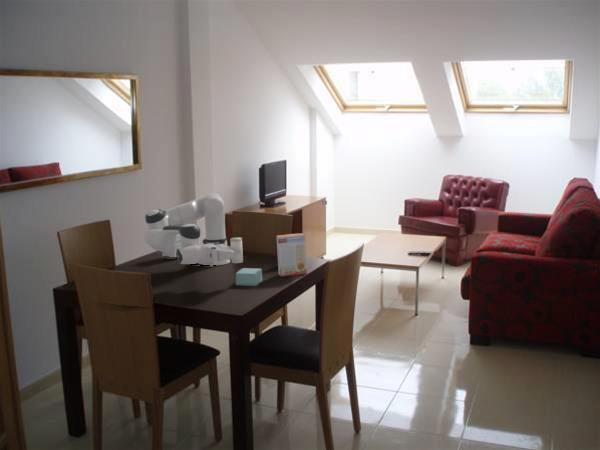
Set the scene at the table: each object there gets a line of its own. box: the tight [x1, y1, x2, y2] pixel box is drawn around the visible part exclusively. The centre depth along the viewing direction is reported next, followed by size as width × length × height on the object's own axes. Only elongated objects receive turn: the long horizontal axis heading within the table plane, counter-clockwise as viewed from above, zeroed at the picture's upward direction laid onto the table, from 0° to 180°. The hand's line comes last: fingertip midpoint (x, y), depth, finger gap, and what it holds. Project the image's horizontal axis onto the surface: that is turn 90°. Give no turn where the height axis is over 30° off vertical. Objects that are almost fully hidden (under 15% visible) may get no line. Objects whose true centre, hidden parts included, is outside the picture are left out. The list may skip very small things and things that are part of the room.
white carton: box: [161, 233, 181, 257], centre depth 390 cm, size 10×9×17 cm
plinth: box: [235, 267, 264, 287], centre depth 330 cm, size 11×11×6 cm
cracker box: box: [276, 232, 308, 278], centre depth 341 cm, size 14×6×21 cm, turn 102°
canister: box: [229, 236, 244, 264], centre depth 325 cm, size 6×6×12 cm
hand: (238, 249), depth 326 cm, fingers closed on canister, 6 cm apart
